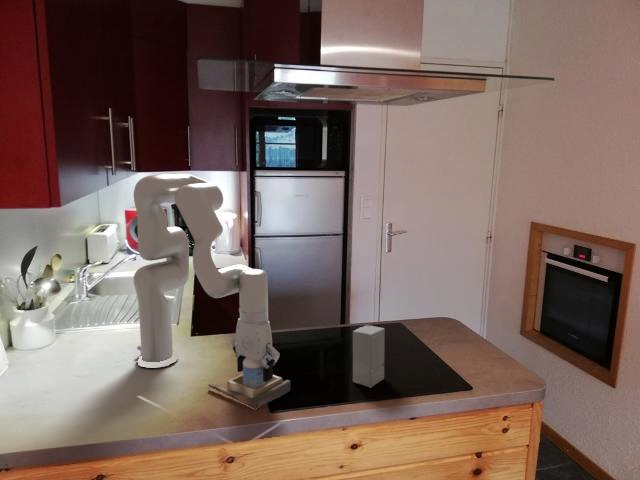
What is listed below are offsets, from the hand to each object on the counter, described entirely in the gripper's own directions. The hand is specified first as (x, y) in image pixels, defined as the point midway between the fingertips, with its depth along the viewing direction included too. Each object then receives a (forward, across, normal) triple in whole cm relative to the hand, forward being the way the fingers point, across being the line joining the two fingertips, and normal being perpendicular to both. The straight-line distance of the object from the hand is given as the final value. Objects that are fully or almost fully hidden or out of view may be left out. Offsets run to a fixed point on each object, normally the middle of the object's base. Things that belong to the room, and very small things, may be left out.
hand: (254, 375), depth 140 cm
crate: (+5, 0, 0) cm, 5 cm away
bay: (+6, -2, 0) cm, 6 cm away
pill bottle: (+5, 0, 0) cm, 5 cm away
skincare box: (+6, +20, +27) cm, 34 cm away
